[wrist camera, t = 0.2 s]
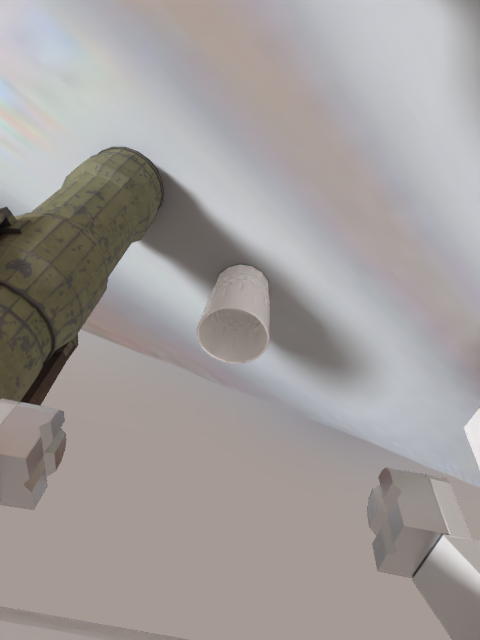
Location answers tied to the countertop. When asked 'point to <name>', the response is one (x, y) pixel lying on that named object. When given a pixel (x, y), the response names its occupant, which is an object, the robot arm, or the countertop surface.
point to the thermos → (67, 264)
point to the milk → (474, 435)
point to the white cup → (236, 316)
